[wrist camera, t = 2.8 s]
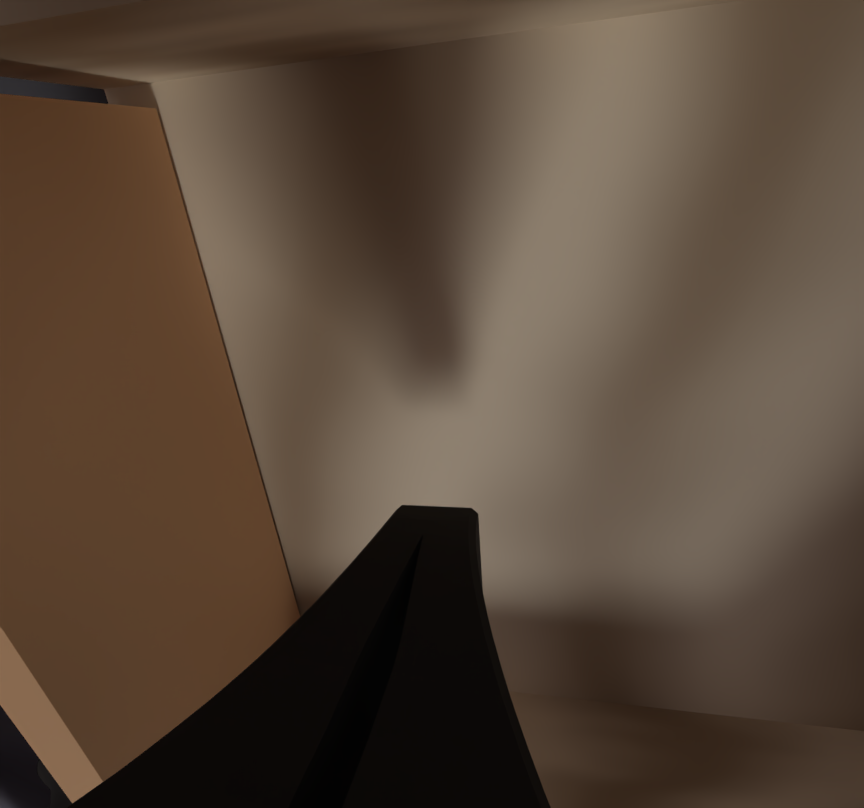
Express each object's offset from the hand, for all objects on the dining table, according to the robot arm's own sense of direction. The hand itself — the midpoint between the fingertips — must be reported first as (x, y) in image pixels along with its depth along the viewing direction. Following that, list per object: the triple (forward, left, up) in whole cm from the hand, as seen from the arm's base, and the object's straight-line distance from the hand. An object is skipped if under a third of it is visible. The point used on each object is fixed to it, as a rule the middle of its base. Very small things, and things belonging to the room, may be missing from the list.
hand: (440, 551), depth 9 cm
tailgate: (0, +6, -3) cm, 7 cm away
